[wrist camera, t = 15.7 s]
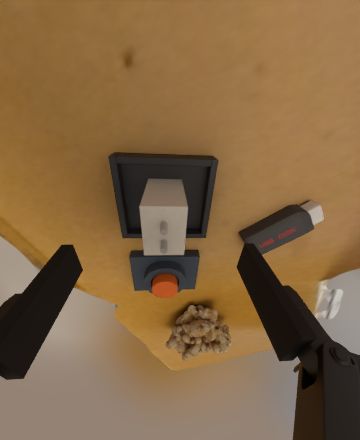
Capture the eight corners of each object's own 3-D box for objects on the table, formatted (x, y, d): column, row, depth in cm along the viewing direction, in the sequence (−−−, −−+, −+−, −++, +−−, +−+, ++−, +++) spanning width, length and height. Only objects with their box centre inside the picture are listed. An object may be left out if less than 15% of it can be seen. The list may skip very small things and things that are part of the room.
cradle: (126, 228, 26) (122, 238, 24) (114, 152, 20) (108, 156, 18) (202, 228, 27) (205, 238, 25) (213, 155, 21) (218, 160, 19)
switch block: (136, 283, 34) (132, 299, 31) (131, 250, 29) (127, 265, 26) (193, 282, 35) (196, 297, 32) (198, 249, 30) (201, 264, 27)
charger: (150, 217, 25) (142, 265, 17) (148, 178, 21) (136, 213, 13) (179, 217, 25) (185, 264, 17) (181, 179, 22) (189, 214, 14)
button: (153, 289, 30) (152, 298, 29) (151, 273, 28) (151, 282, 26) (176, 288, 30) (177, 297, 29) (177, 272, 28) (178, 281, 27)
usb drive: (238, 232, 28) (244, 242, 26) (309, 194, 25) (323, 202, 23) (249, 250, 31) (256, 261, 28) (315, 217, 28) (328, 226, 25)
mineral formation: (228, 320, 44) (179, 340, 46) (207, 287, 39) (154, 310, 41) (240, 354, 36) (180, 376, 38) (216, 318, 32) (150, 345, 34)
